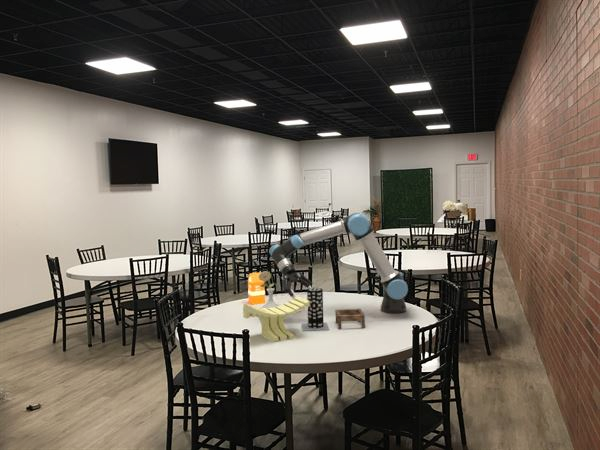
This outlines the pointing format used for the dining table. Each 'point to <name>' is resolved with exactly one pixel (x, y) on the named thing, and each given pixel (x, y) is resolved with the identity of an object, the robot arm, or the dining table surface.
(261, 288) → the orange juice
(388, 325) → the dining table surface
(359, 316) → the square frame stand
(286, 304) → the slatted curved stool
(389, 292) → the robot arm
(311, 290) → the spotted tube
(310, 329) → the mat
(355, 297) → the dining table surface
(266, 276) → the flower in vase
